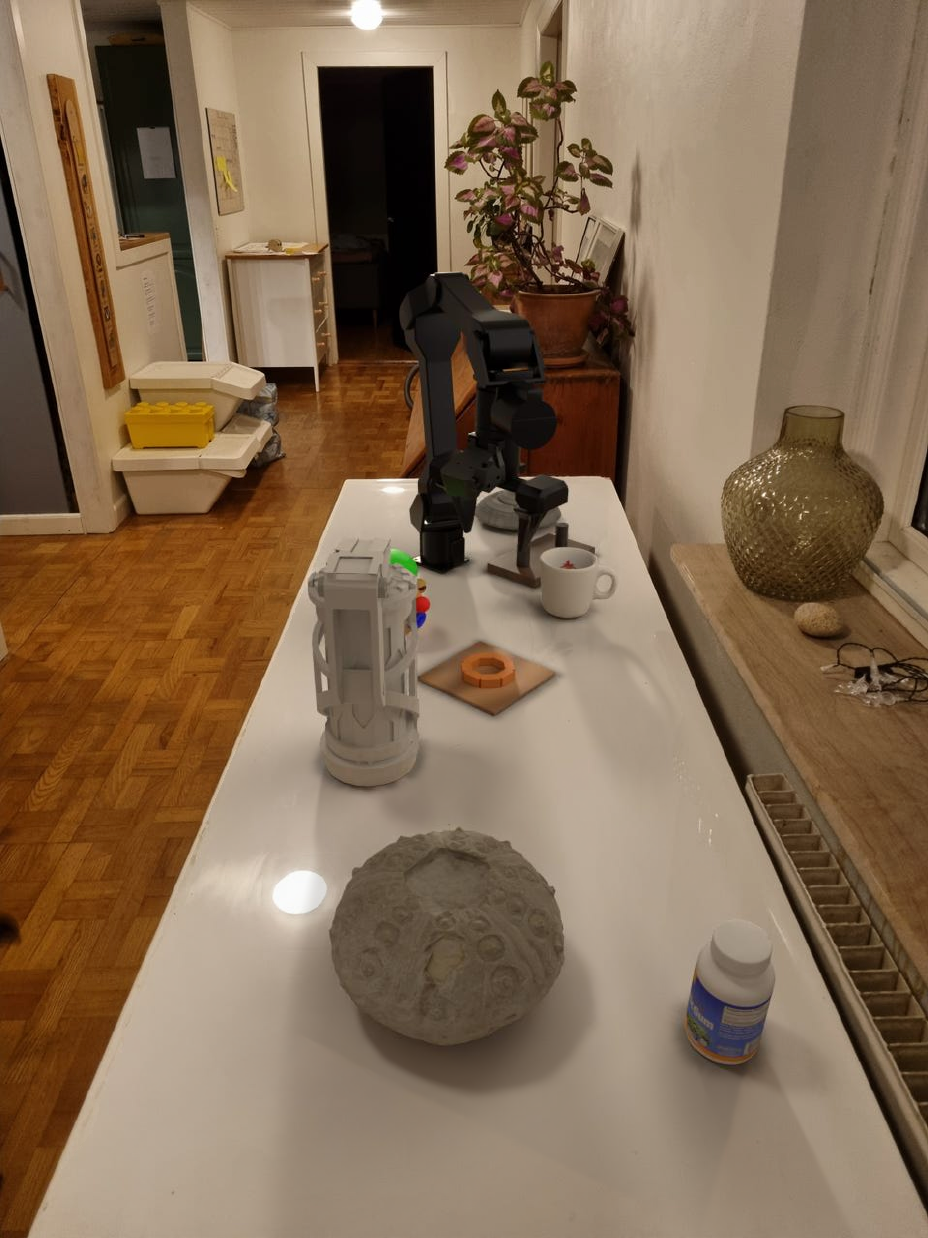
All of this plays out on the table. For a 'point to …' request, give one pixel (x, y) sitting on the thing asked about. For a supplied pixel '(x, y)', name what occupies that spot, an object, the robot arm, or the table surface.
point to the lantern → (366, 663)
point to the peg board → (532, 557)
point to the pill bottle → (731, 993)
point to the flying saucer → (507, 511)
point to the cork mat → (485, 698)
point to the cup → (572, 581)
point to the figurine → (421, 601)
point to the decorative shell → (447, 936)
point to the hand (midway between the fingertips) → (494, 541)
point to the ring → (487, 679)
